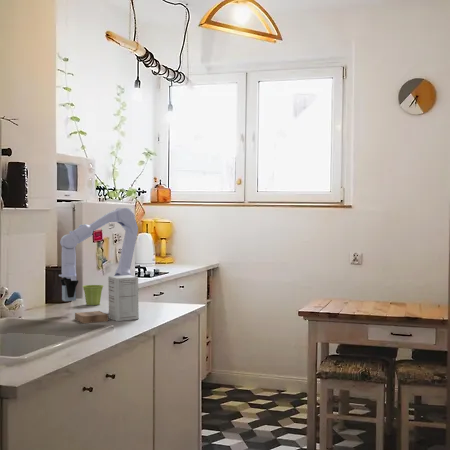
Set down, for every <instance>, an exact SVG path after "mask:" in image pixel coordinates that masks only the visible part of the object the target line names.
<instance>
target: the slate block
mask: <svg viewBox="0 0 450 450" xmlns="http://www.w3.org/2000/svg"><path fill="white" fill-rule="evenodd" d="M61 301H64V302H72V301H73V302H75V301H77V287H76V288H75V293H74V297H71V298H68V295H67V289H66V285H63V286H62V285H61Z"/></svg>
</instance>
